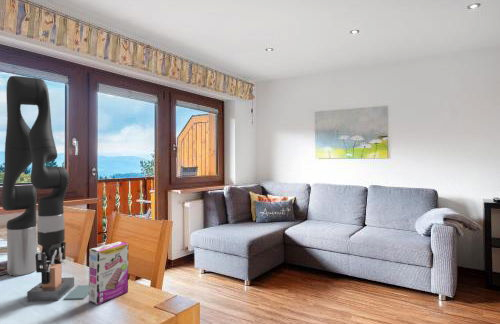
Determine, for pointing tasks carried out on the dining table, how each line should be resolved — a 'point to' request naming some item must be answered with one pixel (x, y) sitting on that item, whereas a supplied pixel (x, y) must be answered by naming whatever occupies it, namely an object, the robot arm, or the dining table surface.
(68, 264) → the dining table surface
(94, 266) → the candy bar box
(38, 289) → the grey socket frame
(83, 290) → the mat
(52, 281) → the plug
